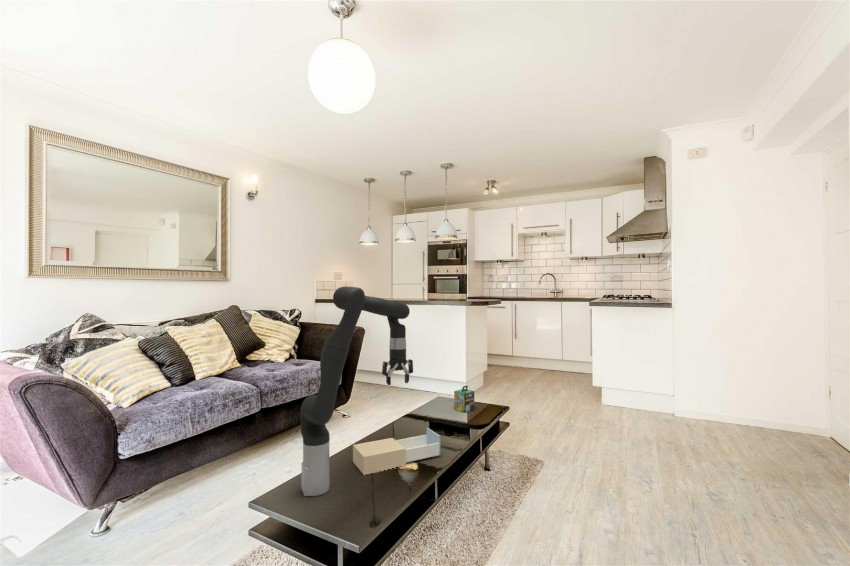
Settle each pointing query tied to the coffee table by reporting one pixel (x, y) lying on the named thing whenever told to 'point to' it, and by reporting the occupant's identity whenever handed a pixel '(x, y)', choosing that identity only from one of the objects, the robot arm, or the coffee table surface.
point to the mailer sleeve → (378, 455)
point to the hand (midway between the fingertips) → (397, 383)
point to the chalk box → (464, 400)
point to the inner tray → (421, 446)
